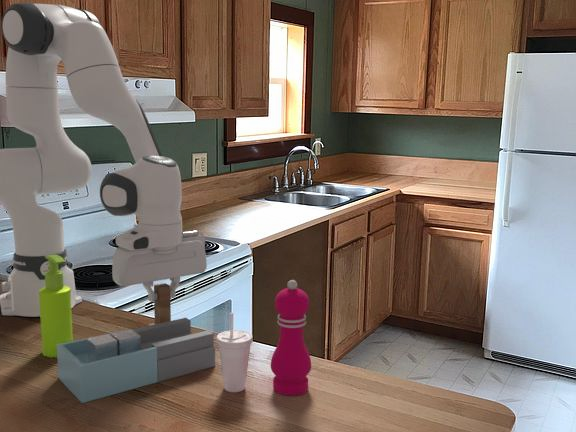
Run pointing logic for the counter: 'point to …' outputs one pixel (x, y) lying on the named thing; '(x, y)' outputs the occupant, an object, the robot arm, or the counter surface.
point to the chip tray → (104, 371)
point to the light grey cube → (101, 347)
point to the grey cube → (127, 341)
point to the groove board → (178, 347)
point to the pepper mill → (291, 342)
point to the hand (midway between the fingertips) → (161, 299)
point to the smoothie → (234, 357)
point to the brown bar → (162, 304)
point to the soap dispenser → (55, 309)
